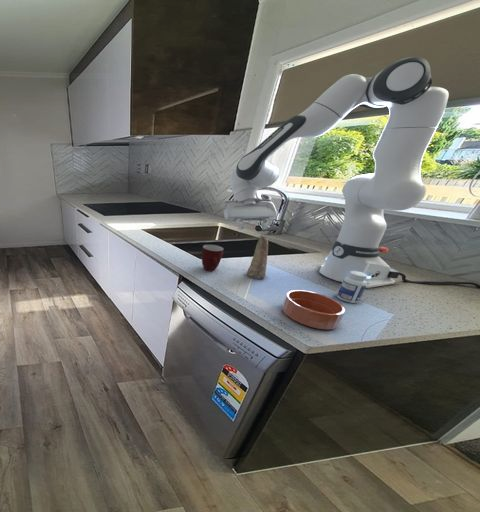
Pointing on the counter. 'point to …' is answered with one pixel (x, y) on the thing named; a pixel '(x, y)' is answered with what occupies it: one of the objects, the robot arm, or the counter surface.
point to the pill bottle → (352, 287)
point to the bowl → (313, 309)
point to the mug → (211, 256)
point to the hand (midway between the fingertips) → (253, 228)
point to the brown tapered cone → (259, 259)
